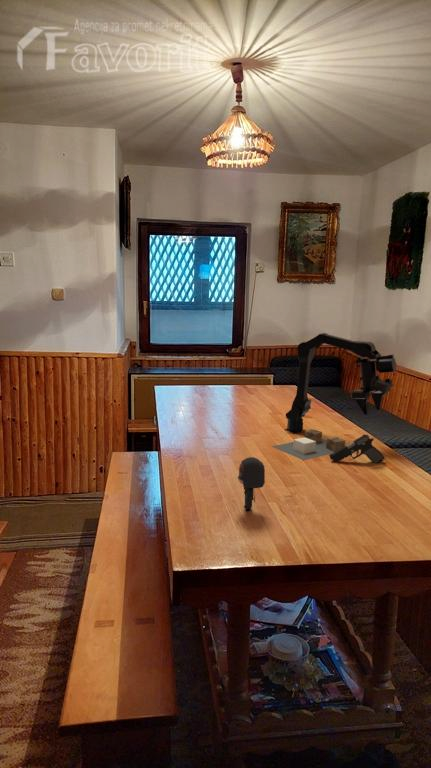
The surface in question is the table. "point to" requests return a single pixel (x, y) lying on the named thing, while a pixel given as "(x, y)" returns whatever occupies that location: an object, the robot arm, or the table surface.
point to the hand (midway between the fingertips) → (372, 412)
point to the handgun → (359, 444)
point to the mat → (319, 451)
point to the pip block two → (335, 443)
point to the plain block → (304, 445)
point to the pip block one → (314, 435)
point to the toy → (251, 478)
